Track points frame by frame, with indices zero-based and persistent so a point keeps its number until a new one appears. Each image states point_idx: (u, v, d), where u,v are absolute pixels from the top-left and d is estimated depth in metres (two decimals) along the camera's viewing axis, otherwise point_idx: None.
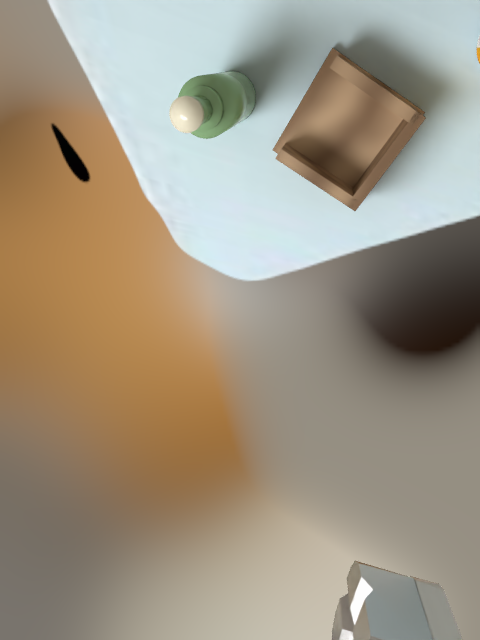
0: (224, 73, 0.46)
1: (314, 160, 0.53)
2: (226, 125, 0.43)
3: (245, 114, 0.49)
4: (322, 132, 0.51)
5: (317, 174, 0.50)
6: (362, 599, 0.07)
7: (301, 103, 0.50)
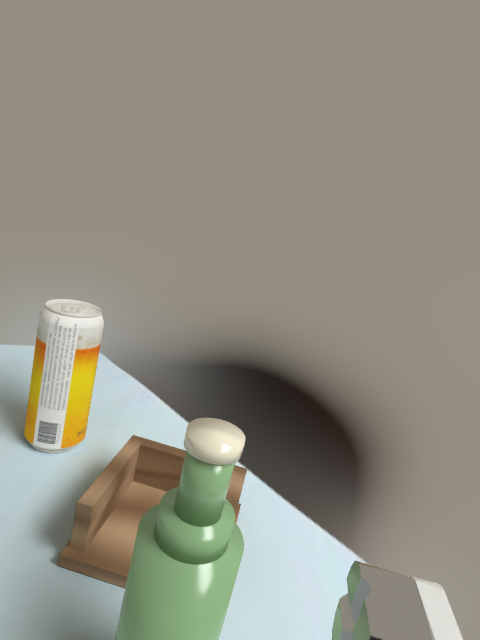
0: (116, 632, 0.23)
1: None
2: None
3: None
4: None
5: None
6: (362, 599, 0.07)
7: None
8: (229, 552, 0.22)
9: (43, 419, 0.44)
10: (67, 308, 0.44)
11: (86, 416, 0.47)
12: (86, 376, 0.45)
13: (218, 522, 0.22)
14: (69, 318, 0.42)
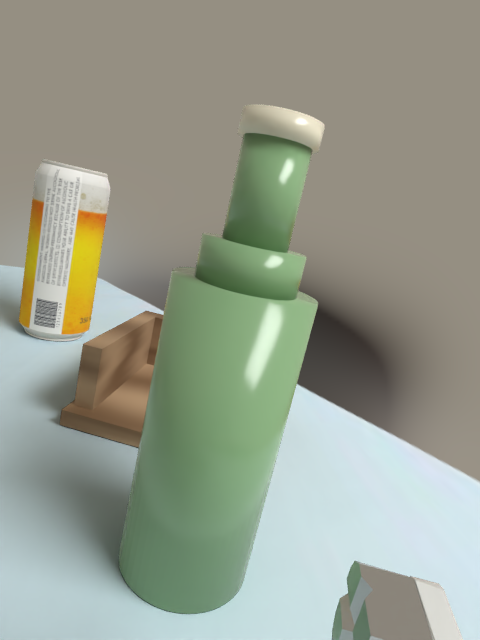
0: None
1: None
2: None
3: None
4: None
5: None
6: (362, 599, 0.07)
7: None
8: (300, 300, 0.16)
9: (40, 296, 0.38)
10: None
11: (91, 302, 0.41)
12: (90, 247, 0.39)
13: (285, 252, 0.15)
14: (70, 170, 0.36)
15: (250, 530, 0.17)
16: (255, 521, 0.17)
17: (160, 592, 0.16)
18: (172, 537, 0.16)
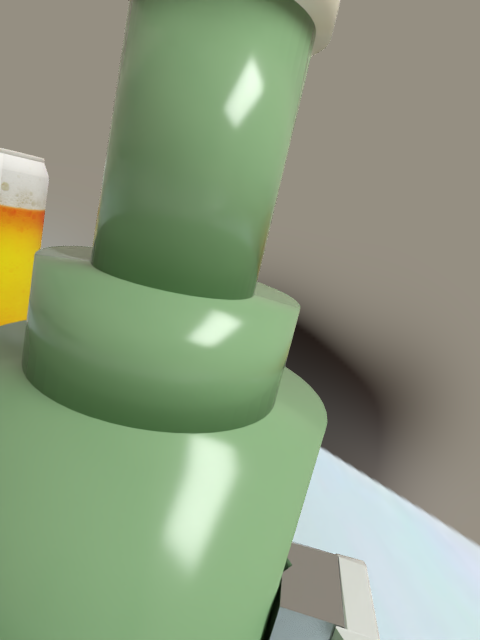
0: None
1: None
2: None
3: None
4: None
5: None
6: None
7: None
8: (284, 416, 0.06)
9: None
10: None
11: None
12: (19, 254, 0.29)
13: (246, 300, 0.06)
14: None
15: None
16: None
17: None
18: None
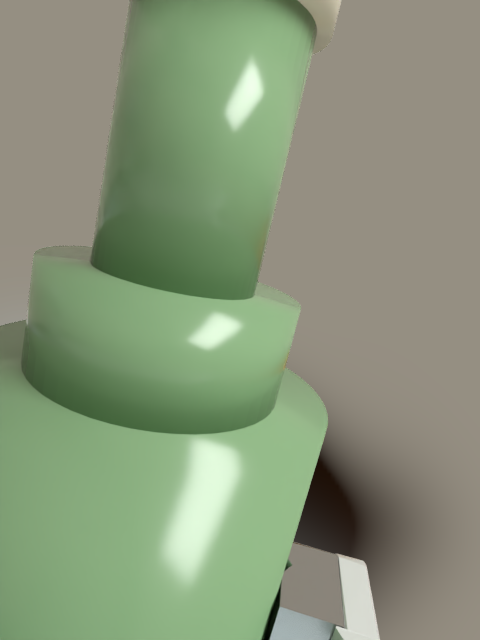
0: None
1: None
2: None
3: None
4: None
5: None
6: None
7: None
8: (285, 416, 0.06)
9: None
10: None
11: None
12: None
13: (246, 300, 0.06)
14: None
15: None
16: None
17: None
18: None
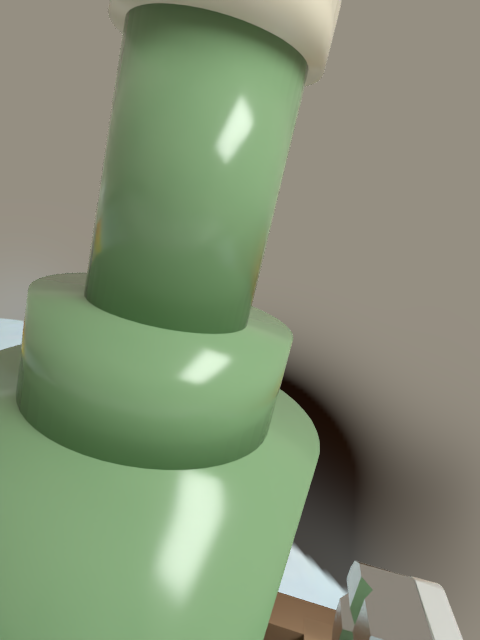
0: None
1: None
2: None
3: None
4: None
5: None
6: (362, 599, 0.07)
7: None
8: (276, 446, 0.06)
9: None
10: None
11: None
12: None
13: (238, 333, 0.06)
14: None
15: None
16: None
17: None
18: None
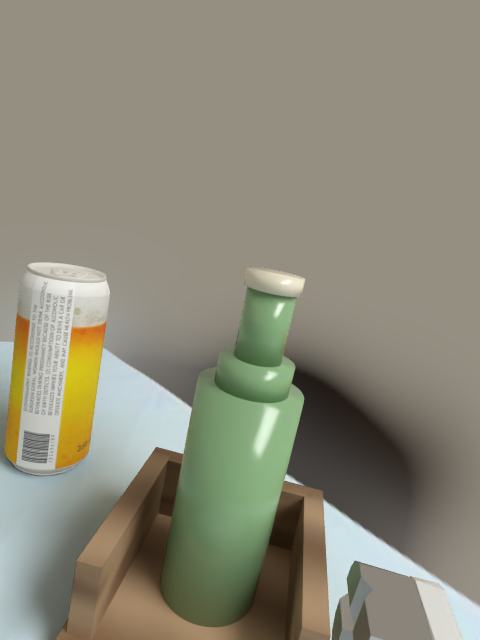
0: (177, 492, 0.23)
1: (283, 623, 0.24)
2: None
3: None
4: None
5: (305, 548, 0.24)
6: (362, 599, 0.07)
7: None
8: (291, 399, 0.22)
9: (29, 429, 0.32)
10: (58, 272, 0.32)
11: (90, 423, 0.35)
12: (87, 366, 0.32)
13: (279, 366, 0.22)
14: (61, 282, 0.30)
15: (258, 564, 0.23)
16: (262, 557, 0.23)
17: (193, 612, 0.22)
18: (202, 572, 0.22)
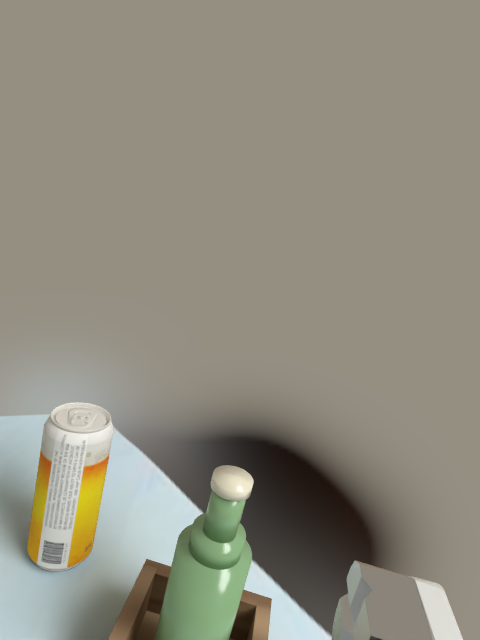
0: (160, 618, 0.33)
1: None
2: None
3: None
4: None
5: None
6: (362, 599, 0.07)
7: None
8: (242, 561, 0.31)
9: (48, 539, 0.41)
10: (74, 418, 0.40)
11: (95, 527, 0.44)
12: (94, 490, 0.41)
13: (234, 539, 0.31)
14: (77, 435, 0.39)
15: None
16: None
17: None
18: None
